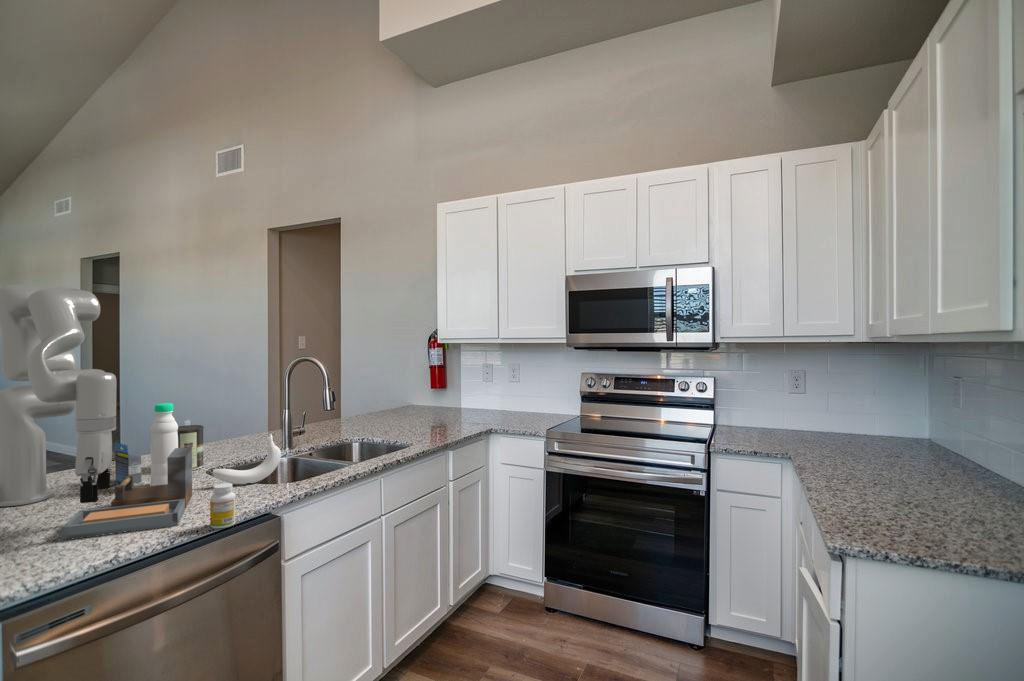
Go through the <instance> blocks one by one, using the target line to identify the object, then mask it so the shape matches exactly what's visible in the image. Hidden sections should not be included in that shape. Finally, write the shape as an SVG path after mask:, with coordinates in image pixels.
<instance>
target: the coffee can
mask: <svg viewBox="0 0 1024 681" xmlns="http://www.w3.org/2000/svg"><path fill="white" fill-rule="evenodd" d="M204 429H205V428H204V425H201V424H200V425H199V424H192V425H190V424H188V425H178V430H177V433H178V448H185V447H192V470H194V471H197V470H196V469H198V470H200V469H199V468H201V469H203V468H204V466H205V465H204ZM202 467H203V468H202Z"/></svg>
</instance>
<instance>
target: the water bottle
mask: <svg viewBox="0 0 1024 681" xmlns="http://www.w3.org/2000/svg"><path fill="white" fill-rule="evenodd" d="M154 412H155V415H156V416H155V418H154V419H153V422H152V424H151V426H150V428H149V430H150V434H151V435H150V450H149V451H150V462H151V463H150V486H156V485H165V484H168V466H167V458H168V456H169V455H170V454H171V453H172V452H173V450H174V449H175V448H178V433H177V430H178V426H179V425H178V423H177V421H176V419H175V417H174V416H173V412H174V404H173V403H171V402H163V403H156V404H155V406H154Z"/></svg>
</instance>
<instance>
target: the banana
mask: <svg viewBox="0 0 1024 681" xmlns="http://www.w3.org/2000/svg"><path fill="white" fill-rule="evenodd" d="M265 441H266V442H267V444H268V446H269V447H268V452H267V453H266V454H267V455H266V456H265V459H264V460H263V461H262V462H261V463H259V464H258V465H257V466H255V467H253V468H250V469H244V470H241V469H240V470H238V469H232V468H215V469H213V471H212V476H213V477H215V478H216V479H218V480H220V481H223V482H224V483H231V484H232V485H247V484H246V483H251V484H255V483H258V482H260V481H262V480H264V479H266V478H268V477H269V476H270V475H271V474H272V473H273V472H274V471H275V470H276V469H277V468H278V466H279V464H280V461H281V456H282V450H280V448H279V447H278V446H277V445H276V444H275V443H274V441H273V435H272V433H271V432H269V434H268V436H267V438H266V439H265Z"/></svg>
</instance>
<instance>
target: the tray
mask: <svg viewBox="0 0 1024 681" xmlns="http://www.w3.org/2000/svg"><path fill="white" fill-rule="evenodd" d="M161 504H169V512H168V513H165V514H157V515H149V516H141V517H133V518H124V519H116V520H108V521H100V522H91V523H83V524H82V521H83V520H84V519H85V518H86V517H87V516H88V515H89V514H90V513H92V512H101V511H109V510H118V509H127V508H135V507H144V506H153V505H161ZM185 511H186V509H185V499H178V500H169V501H160V502H151V503H142V504H133V505H125V506H116V507H111V506H108V507H99V508H90V509H83V510H79V511H77V512H76V513H75V514H74V515H73V516H72V517H71V518H70V519H68V521H66V522H65V523H64V524H63V525H62V526H61V534H60V535H61V541H62V540H64V541H67V540H66V539H71V540H73V539H72V538H79V539H82V538H81V537H87V536H94V537H97V536H96V535H102V534H110V533H117V534H119V533H118V532H124V531H132V532H135V531H134V530H140V531H145V530H146V529H148V530H153V529H154V528H155V529H163V528H169V527H176V526H177V527H178V526H179V523H180V521H181V519H182V517H183V515H184V513H185ZM155 529H154V530H155ZM146 531H147V530H146ZM110 535H111V534H110ZM102 536H103V535H102ZM87 538H88V537H87Z"/></svg>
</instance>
